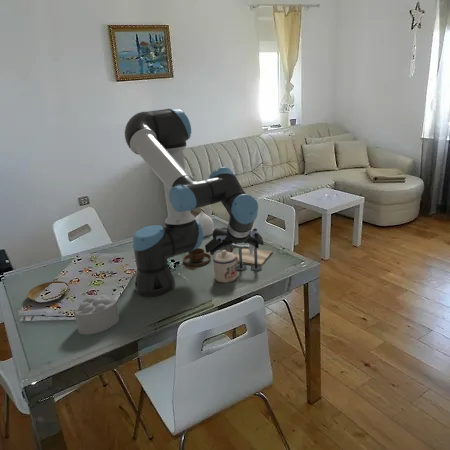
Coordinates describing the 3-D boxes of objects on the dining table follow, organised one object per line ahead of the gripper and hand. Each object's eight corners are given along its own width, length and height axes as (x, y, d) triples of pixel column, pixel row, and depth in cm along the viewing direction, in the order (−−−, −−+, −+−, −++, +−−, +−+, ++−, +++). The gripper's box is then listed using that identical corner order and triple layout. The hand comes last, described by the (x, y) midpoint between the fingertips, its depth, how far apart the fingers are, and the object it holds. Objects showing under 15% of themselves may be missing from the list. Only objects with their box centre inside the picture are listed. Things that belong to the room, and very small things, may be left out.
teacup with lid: (227, 285, 157) (225, 257, 153) (209, 279, 163) (207, 252, 159) (246, 273, 166) (245, 246, 162) (229, 268, 171) (227, 241, 168)
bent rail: (257, 273, 165) (257, 250, 162) (220, 267, 172) (219, 245, 169) (263, 267, 170) (262, 244, 167) (227, 261, 177) (225, 240, 174)
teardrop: (208, 226, 220) (206, 205, 216) (218, 232, 211) (216, 210, 207) (189, 231, 215) (187, 209, 211) (199, 237, 206) (196, 215, 202)
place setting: (196, 251, 191) (194, 240, 189) (235, 257, 182) (234, 245, 180) (175, 267, 176) (173, 255, 174) (216, 275, 167) (215, 261, 165)
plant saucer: (51, 284, 169) (50, 278, 168) (78, 290, 162) (76, 284, 161) (20, 301, 156) (18, 295, 155) (47, 309, 150) (46, 302, 149)
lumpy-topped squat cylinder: (123, 320, 139) (119, 298, 136) (87, 339, 130) (82, 315, 127) (106, 310, 146) (102, 288, 143) (71, 327, 137) (66, 304, 134)
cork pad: (261, 266, 171) (260, 264, 171) (230, 261, 177) (230, 260, 177) (272, 252, 183) (272, 251, 183) (243, 249, 189) (242, 247, 188)
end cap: (212, 243, 198) (211, 229, 196) (223, 238, 203) (222, 225, 201) (227, 248, 192) (226, 234, 189) (238, 243, 196) (237, 229, 194)
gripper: (202, 244, 128) (199, 268, 147) (280, 233, 132) (267, 258, 151) (198, 222, 131) (196, 248, 150) (274, 212, 135) (263, 239, 154)
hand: (232, 253), depth 150 cm, fingers open, 13 cm apart
